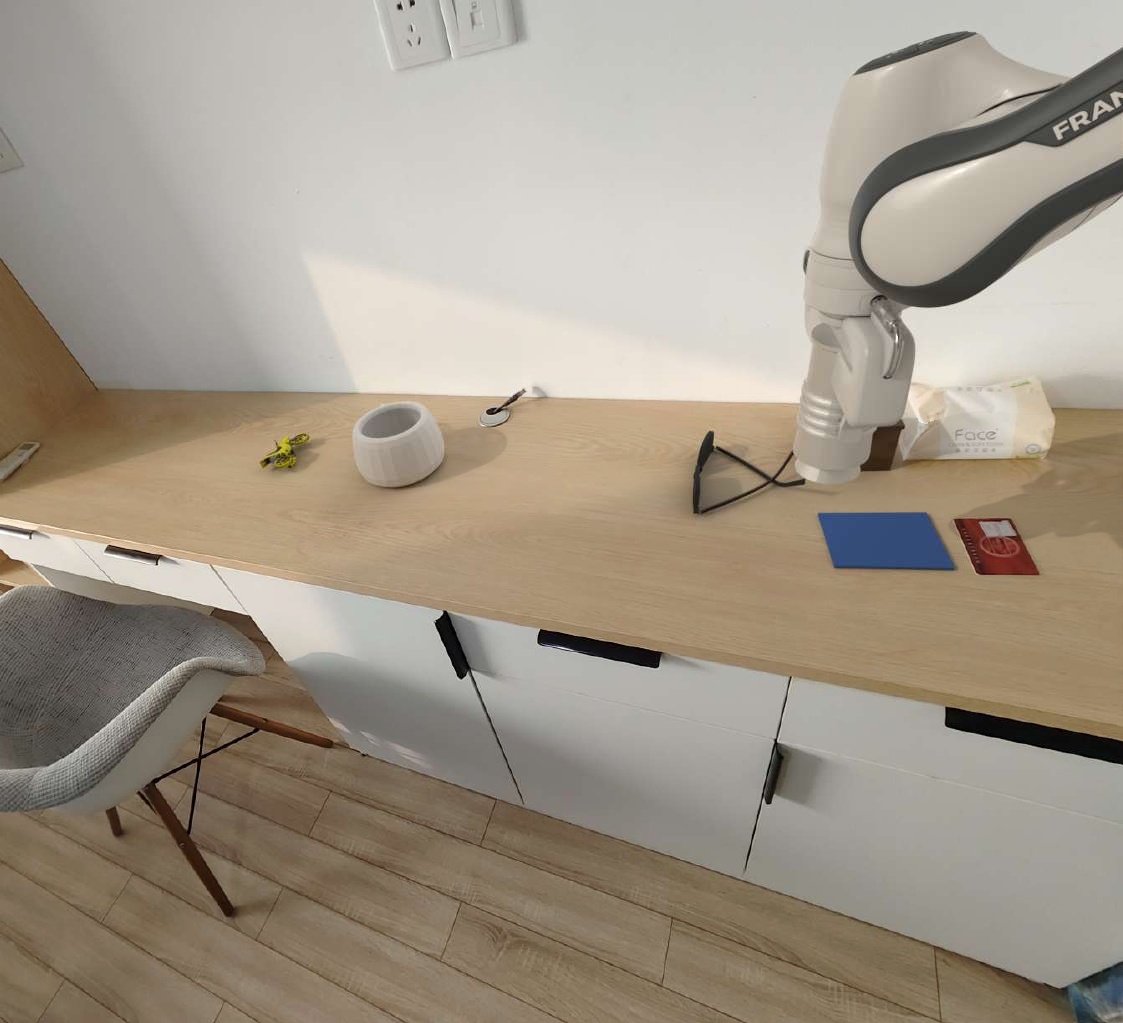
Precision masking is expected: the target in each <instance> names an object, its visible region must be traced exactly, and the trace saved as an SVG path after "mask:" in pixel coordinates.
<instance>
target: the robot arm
mask: <svg viewBox="0 0 1123 1023" xmlns="http://www.w3.org/2000/svg"><path fill="white" fill-rule="evenodd" d="M826 140H827V141H826V144H825V149H824V155H823V159H822V165H821V166H822V167H821V171H820V179H819V185H818V196H819V201H820V215H819V216H820V217H819V220H818V224H817V226H816V229H815V231H813V232H814V233H813V235H812V237H811V241H810V246H807V247H805V249H804V252H803V257H802V269H803V272H804V276H805V277H804V287H803V288H804V289H803V295H802V297H803V298H802V299H803V301H804V327H805V332H806V335H807V337H808V339H809V342H810V344H811V345H813V342H812V341H811V332H812V330H813V328H814V327H816V326H817V325H818V324H820V323H825V324H827V325H830V327H831V328H832V330H833V332H834V334H835V336H836V338H837V340H838V341H839V343H840V345H841V347H842V351H838V353H837V354H836V358H835V363H834V368H833V372H832V377H831V387H832V389H833V391H834V393H835V395H836V397H837V400H838V402H839V404H840V406H841V408H842V410H843V413H844V415H843V417H842V420H838V422H837V429H836V435H837V437H838V440H839V442H840V443H842V444H849V443H858V442H859V441H860V440H861V438H862V434H863V430H864V427H880V426H891V425H894V424H896V423H897V422H898V421H899V420H900V419H902V418H903V417H904V414H905V412H906V407H907V403H908V398H909V393H910V390H911V384H912V378H913V373H914V368H915V360H916V342H915V337H914V335H913V333H912V332H911V330H910V329H909V328H908V326H907V325H906V323H904V320H903V318H902V317H901V316H902V314H903V311H904V310H907V309H909V308H911V307H912V308H921V309H934V308H935V309H936V308H943V307H948V306H953V305H956V304H958V303H962V302H964V301H967V300H969V299H971V298H973V297H974V296H976V295H978V294H980V293H981V292H983V291H984V290H986V289H988V288H989V287H991V285H993V284H994V283H996V282H998V281H999V280H1000V279H1002V278H1003V277H1004V276H1005V275H1007V274H1009V272H1010V271H1012V270H1013V269H1014V268H1016V267H1017V266H1019V265H1020V264H1021V263H1023V262H1025V261H1027V260H1029V259H1030V258H1032V257H1033V256H1035V255H1036V254H1038V253H1040V252H1041V251H1044V250H1045V249H1046V248H1048V247H1049V246H1051V245H1053V244H1054V243H1056V242H1058V241H1059V240H1061V239H1063V238H1065V237H1066V236H1068V235H1070V234H1071V233H1072V232H1074V231H1076V230H1078V229H1080V227H1081V228H1082V226H1084V225H1085V224H1087V223H1089V222H1090V221H1092V220H1093V219H1094V218H1096V217H1097V216H1099V215H1100V214H1101V213H1103V212H1104V211H1106V210H1107V209H1108V208H1110V207H1111V206H1113V205H1114V204H1115V203H1116V202H1118V201H1119V200H1120V199H1122V197H1123V46H1122V47H1120V48H1119V49H1117V50H1116V51H1114V52H1112V53H1111V54H1109V55H1108V56H1106V57H1104V58H1103V59H1101V60H1099V61H1098V62H1096V63H1094V64H1093V65H1092V66H1090V67H1088V68H1086V69H1084V70H1083V71H1081V72H1080V73H1078V74H1077V75H1075V76H1074V77H1071V76H1067V75H1061V74H1056V73H1052V72H1048V71H1045V70H1041V69H1038V68H1035V67H1032V66H1029V65H1026V64H1024V63H1021V62H1019V61H1017V60H1014V59H1012V58H1010V57H1008V56H1006V55H1005V54H1002V53H1001V52H999V51H998V50H996V49H995V48H994V47H993V46H992V44H990V42H989V41H988V40H987V39H986V37H985V36H984V35H983V34H981V33H979V32H977V31H968V30H963V31H955V32H951V33H946V34H942V35H938V36H935V37H932V38H929V39H925V40H923V41H920V42H917V43H914V44H911V45H908V46H907V47H905V48H901V49H898V50H894V51H891V52H889V53H886V54H885V55H881V56H880V57H877V58H873V59H872V60H870V61H868V62H867V63H865V64H864V65H862V66H861V67H859V68H857V69H856V71H855V72H854V73H853V74H852V75H851V76H850V77H849V78H848V79H847V80H846V82H845V84H844V86H843V88H842V90H841V93H840V95H839V97H838V100H837V103H836V105H835V108H834V112H833V115H832V119H831V123H830V126H829V130H828V135H827V139H826Z"/></svg>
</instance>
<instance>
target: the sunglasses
mask: <svg viewBox="0 0 1123 1023" xmlns="http://www.w3.org/2000/svg"><path fill="white" fill-rule="evenodd" d="M714 440H715V432H714V431H713V430H709V431H708V432H706V434H705V436H704V438H703V440H702V442H701V445H700V447H699V451H698V455H697V462H696V465H694V466H695V467H694V472H693V477H692V480H693V483H692V484H693V486H692V514H696V515H699V514H700V515H703V514H706V513H708V512H711V511H714V510H717V509H719V508H722V507H723V506H727V505H729V504H732V503H733V502H737V501H739V500H741V499H743V498H745V497H748V496H749V495H752V494H754V493H756V492H758V491H760V490H762V489H763V488H766V487H767V486H768V485H769V484H774V485H775V486H777V487H779V488H790V487H798V486H799V487H800V486H804V485H805V484H806V478H800V479H796V480H792V481H788V482H781V481H778V480H776V479H777V478H778V477H779V476H780V475H781V473H782V472H783V471H784V469H785V468H786V466H787V465H788V464H789V462H790V461H791V460H792V458H793V457H794V456H795V455H794V453H793V449H792V450H790V452H789V454H788V455H787V457H786V458H785V460H784V462H783V464H781V467H779V469H778V470H777V472H776V473H775V474H774V475H773V476H772V477H771V476H769V475H768V474H767V473H766V472H764V471H762V470H760V469H759V468H757V467H756V466H754V465H753V464H751V463H750V462H748V461H746V460H745V459H743V458H741V457H739V456H737V455H736V454H734V453H732V452H731V451H728V450H727V449H725V448H722V447H721V446H720V445H714ZM714 450H715V451H718V452H720V453H722V454H723V455H725V456H726V457H729V458H731V459H733V460H734V461H736V462H737V463H740V464H741V465H743V466H745V467H747V468H748V469H750V470H751V471H753V472H754V473H756V474H758V475H759V476H761V477H762V478H764V479H765V480H767V481H765V482H764V483H762V484H760V485H758V486H756V487H754V488H752V489H749V490H747V491H745V492H743V493H741V494H738V495H736V496H734V497H731V498H728V499H726V500H724V501H721V502H718V503H715V504H713V505H711V506H708V507H707V506H706V507H705V508H703V509H701V508H700V506H699V505H700V497H701V487H702V486H701V483H702V482H701V474H702V472H703V470H704V469H703V467H704V466H705V464H706V462H707V461H708V459H709V457H710V455H711V453H712V452H714Z"/></svg>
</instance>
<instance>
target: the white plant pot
mask: <svg viewBox="0 0 1123 1023" xmlns="http://www.w3.org/2000/svg"><path fill="white" fill-rule="evenodd" d="M351 441H352V443H351V444H352V452H353V456H354V457H353V458H354V461H355V465H356V468H357V469H358V472H359V473H360V475H361V476H362V477H363V479H364V480H365V481H367V482H368V483H369V484H372V485H375V486H377V487H382V488H400V487H401V488H402V487H406V486H409V485H413V484H415V483H417V482H420V481H422V480H424V479H425V478H427V477H428V476H430V475H431V474H432V473H433V472H435V471H436V470H437V469H438V468H439V466H440V465H441V463H442V462H443V460H444V457H445V453H446V447H445V446H446V445H445V441H444V437H443V434H442V431H441V428H440V426H439V424H438V422H437V420H436V418H435V416H434V415H433V413H432V412H431V411H430V410H429V409H428V408H427V406H425V405H424V404H422V403H420V402H417V401H411V400H402V401H401V400H400V401H394V402H393V401H392V402H390V403H385V402H381V403H380V404H379V406H377V407H375V408H373V409H370V410H369V411H368V412H366V413H365V414H363V415H362V416H361V417H360V418H359V419H357V421H356V422H355V423H354V426H353V429H352V433H351Z"/></svg>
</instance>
